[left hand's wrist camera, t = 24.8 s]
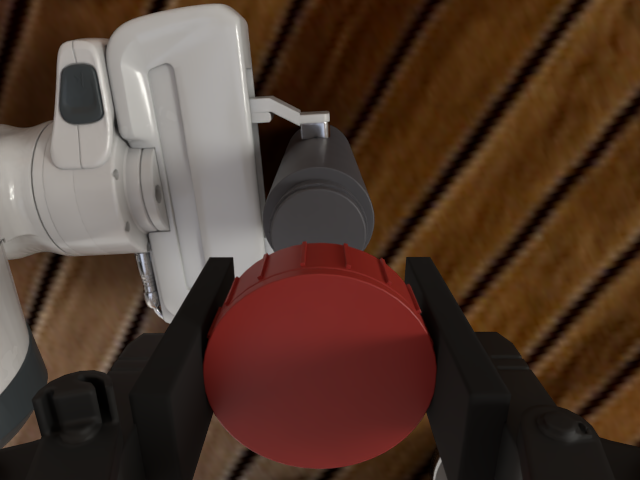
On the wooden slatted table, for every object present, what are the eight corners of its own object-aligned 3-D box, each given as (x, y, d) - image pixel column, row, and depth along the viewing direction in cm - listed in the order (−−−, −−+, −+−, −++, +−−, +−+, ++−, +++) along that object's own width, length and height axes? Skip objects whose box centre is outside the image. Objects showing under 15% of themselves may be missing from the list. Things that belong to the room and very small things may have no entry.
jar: (272, 149, 35) (232, 224, 19) (325, 108, 34) (330, 150, 18) (312, 200, 37) (307, 309, 20) (363, 162, 36) (402, 246, 19)
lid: (175, 299, 12) (149, 340, 10) (364, 199, 11) (373, 225, 9) (283, 442, 14) (277, 499, 12) (454, 367, 13) (477, 417, 11)
